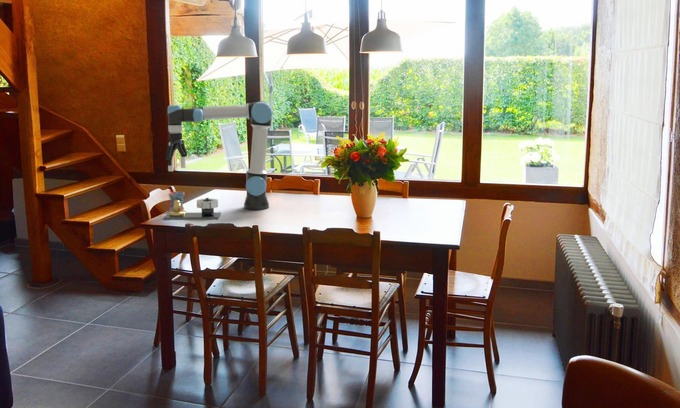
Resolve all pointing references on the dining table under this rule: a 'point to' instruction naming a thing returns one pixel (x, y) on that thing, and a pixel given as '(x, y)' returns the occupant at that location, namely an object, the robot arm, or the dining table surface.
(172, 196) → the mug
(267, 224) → the dining table surface
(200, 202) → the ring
